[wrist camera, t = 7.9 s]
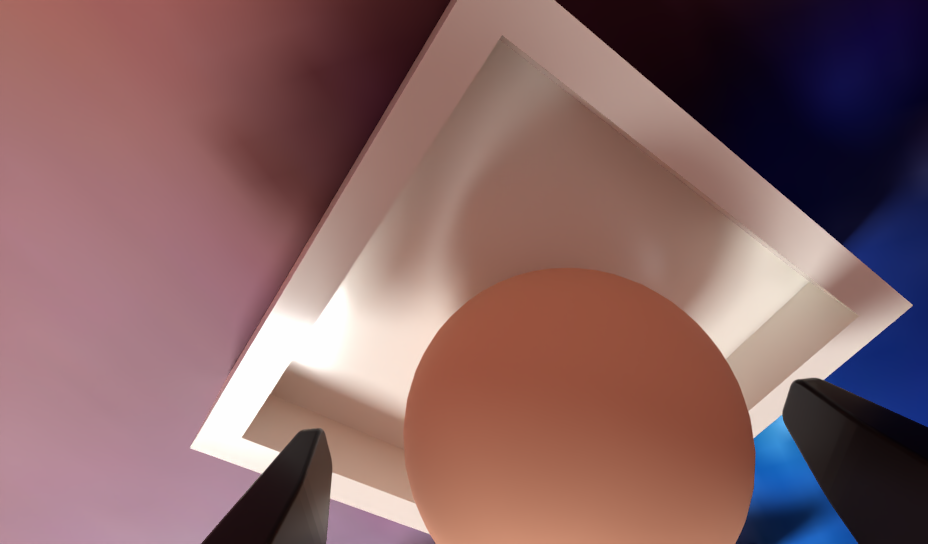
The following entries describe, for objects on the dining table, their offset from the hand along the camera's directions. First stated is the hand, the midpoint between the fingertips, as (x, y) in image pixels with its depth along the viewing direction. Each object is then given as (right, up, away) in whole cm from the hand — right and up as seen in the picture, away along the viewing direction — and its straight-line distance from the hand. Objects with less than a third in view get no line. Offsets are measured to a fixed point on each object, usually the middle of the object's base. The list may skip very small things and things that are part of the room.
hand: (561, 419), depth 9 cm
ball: (0, +1, +2) cm, 3 cm away
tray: (0, +2, +3) cm, 4 cm away
